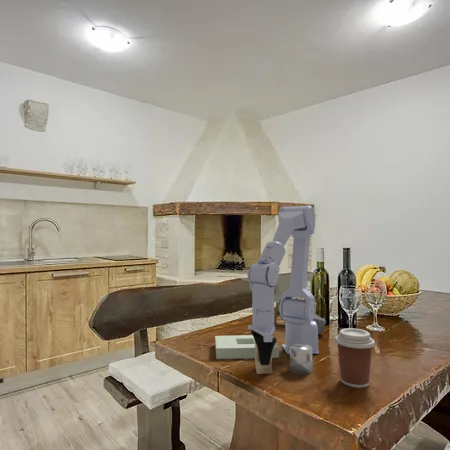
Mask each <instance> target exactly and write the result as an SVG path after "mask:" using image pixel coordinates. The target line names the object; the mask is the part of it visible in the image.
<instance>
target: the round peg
mask: <svg viewBox="0 0 450 450" xmlns="http://www.w3.org/2000/svg"><path fill="white" fill-rule="evenodd" d="M289 370H290V371H291V372H292V373H293V374H296V375H310V374H312V373H313V354H312V347H311V346H310V345H307V344H292V345H290V354H289Z"/></svg>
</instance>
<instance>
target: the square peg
mask: <svg viewBox="0 0 450 450" xmlns="http://www.w3.org/2000/svg"><path fill="white" fill-rule="evenodd" d="M254 366H255V367H254V369H255V372H256V374H257V375H259V374H260V375H261V374H264V375H265V374H267V375H268V374H273V358H272V354H271V359H270V363H269V365H261V363H260V359H259V352H258V347H257V344H256V342H255V358H254Z"/></svg>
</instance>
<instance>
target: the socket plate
mask: <svg viewBox="0 0 450 450" xmlns="http://www.w3.org/2000/svg"><path fill="white" fill-rule="evenodd" d="M214 337H215V338H214V339H215V340H214V341H215V342H214V343H215V345H214V346H215V356H216V357H215V359H216V360H233V359H235V360H237V359H255V341H254V337H253V335H252V334H248V335H247V334H246V335H245V334H244V335H215V336H214ZM272 338H274V337H273V336H272ZM276 358H280V346H279V345H278V343H277V342H276V343H275V345H274V347H273V350H272V359H276Z"/></svg>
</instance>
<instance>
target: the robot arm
mask: <svg viewBox="0 0 450 450" xmlns="http://www.w3.org/2000/svg"><path fill="white" fill-rule="evenodd" d="M277 219H278V225H277V229H276V231H275V234H274V235H273V238H272V241H268V242H267V243H266V245H265V246H264V248H263V250H262V252H261V254H260V256H259V257H258V260H257V262H256V263H253V264H251V266H250V267H249V268H248V274H247V279H248V282H249V290H250V291H251V292H252V294H251V295H252V297H251V298H252V306H251V307H252V315H251V316H252V321H251V322H252V323H251V324H250V325H247V329H248V331H250V333H251V335H253V337H254V341H255V342H256V344H257V347H258V352H259V359H260V363H261V365H269V363H270V359H271V354H272V350H273V347H274V345H275V343H277V341H278V340H277V338H276V337H273V334H274V332H275V330H276V326H275V322H274V307H275V286H276V285H277V283H278V282H279V277H280V276H279V275H280V270H281V268H280V265H281V263H282V260H284V259H283V258H285V257H284V256H285V255H286V248H285V245H286V244H287V242H288V240H289V239H290V237H291V236H292V238H293V244H292V255H291V267H290V268H291V269H290V282H289V288H288V289H287V290H285V291H284V292H282V294H281V298H280V299H281V302H280V306H279V311H280V315H281V316H282V317H283V320H285V322H284V323H285V343H283V344H281V347H282V348H283V350H284V351H285V353H286V354H287V355H290V345H292V344H307V345H310V346H311V347H312V355H315V354H317V355H318V354H320V352H319V334H318V328H317V324H316V322H315V321H312V320H313V319H314V317H315V314H317V312H316V311H317V310H316V309H317V307H316V299H315V296H314V295H313V294H312V293H311V292H310V291H309V290H308V289H307V285H308V284H307V282H308V268H309V257H310V256H309V255H310V254H309V253H310V242H311V241H310V240H311V236H312V235H314V233H315V229H316V228H315V227H316V213H315V210H314V208H313V207H312V205H301V206H299V205H298V206H281V207H280V209H279V211H278V215H277ZM283 320H282V321H283ZM272 337H273V338H272Z"/></svg>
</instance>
